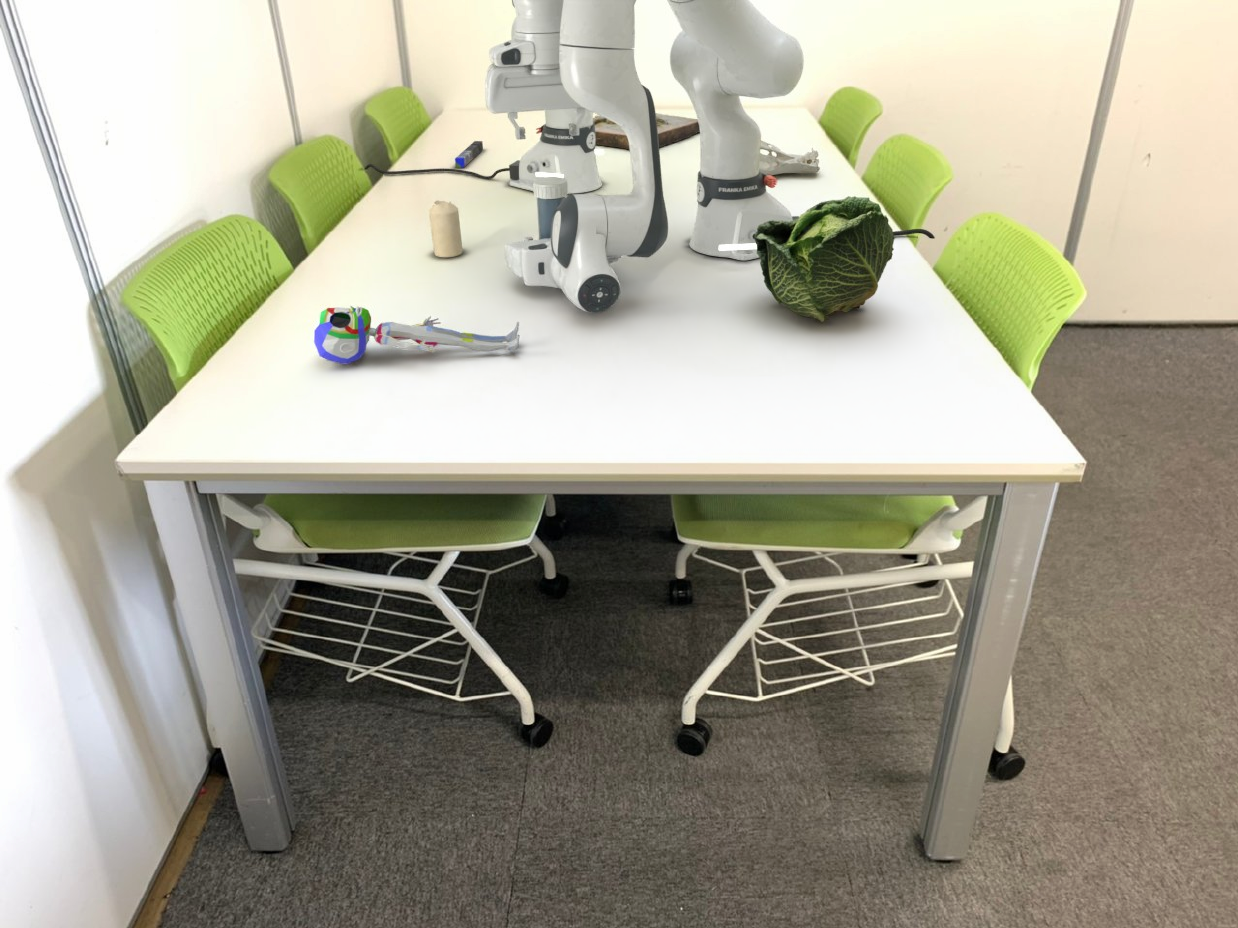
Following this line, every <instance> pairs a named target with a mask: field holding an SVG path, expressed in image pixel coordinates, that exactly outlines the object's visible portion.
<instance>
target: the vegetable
mask: <svg viewBox="0 0 1238 928" xmlns="http://www.w3.org/2000/svg"><path fill="white" fill-rule="evenodd" d="M870 199H871V198H870V197H863V196H862V197H860V196H859V197H858V196H856V195H854V196H848V195H847V197H845V198H844V199H843V198H842V199H830V200H825V201H821V202H819V203H817V204H815V205H813V206H811V207H810V208H808V209H807V210H806V211H805V212H804V213H800V215H799V218H797V219H795V220H793V221H790V222H789V221H776V220H771V221H768V222H765V223H763V224H761V225H759V226H758V228H757V232H756V233H755V236H754V239H755V242H756V246H757V254H758V256H759V258H760V262H759V265H760V268H761V274H762V276H763V283H764V285H765V287H766V289H767V290H768V291H769V292H770V294H771V296H772V297H773V298H774V299H775V301H776V302H777V303H778V305H779V304H783V305H785V307H786V308H787V309H789V311H790V310H791V311H792V312H794V313H796V314H798V315H799V316H802V317H805V318H815V319H816V320H818V321H820V322H821V323H824V320H830V318H829V317H828V316H829V315H831V314H833V313H834V312H838V311H841V312H844V313H848V312H849V311H851V310H852V309H853V310H854V309H855V310H856V309H860V308H861V306H864V305H865V303H866V301H868V300H869V299H871V298H872V297H873V296H874V295H875V294H876V293H877V291H878V288H879V282H880V280H881V277H882V275H883V274H884V271H885V269H886V266H887V264H888V262H889V261H890V260H892V258H893V255H894V254H893V251H894V250H895V249H894V243H895V242H894V241H895V239H896V236H894V234H893V232H894V231H893V228H892V227H891V225H890V223H889V218H888V217H887V214H886V215H884V213H883V212H882V207H881V206H880V204H879V203H877V202H874V201H872V200H870Z"/></svg>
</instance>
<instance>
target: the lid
mask: <svg viewBox="0 0 1238 928" xmlns="http://www.w3.org/2000/svg"><path fill="white" fill-rule="evenodd" d="M533 183H534V184H533V191H532V192H533V196H534V197H535V198H536V199H537V198H541V199H557V198H562V197H567V196H568V194H567V193H568V184H567V180H566V179H565V178H562V177H541V178H538V179H535V180H534V181H533Z"/></svg>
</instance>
